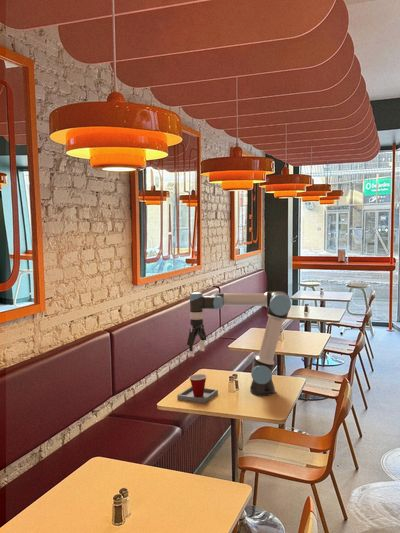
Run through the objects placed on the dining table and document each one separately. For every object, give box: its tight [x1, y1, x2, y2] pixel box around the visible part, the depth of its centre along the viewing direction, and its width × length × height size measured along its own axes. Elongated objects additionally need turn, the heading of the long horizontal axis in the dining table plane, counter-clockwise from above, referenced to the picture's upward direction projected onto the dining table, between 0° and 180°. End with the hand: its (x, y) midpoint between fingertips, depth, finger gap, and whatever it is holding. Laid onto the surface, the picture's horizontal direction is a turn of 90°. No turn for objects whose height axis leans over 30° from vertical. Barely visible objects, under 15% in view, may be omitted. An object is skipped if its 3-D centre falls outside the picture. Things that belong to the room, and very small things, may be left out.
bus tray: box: [177, 385, 219, 405], centre depth 297 cm, size 18×18×3 cm
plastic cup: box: [188, 373, 208, 397], centre depth 297 cm, size 11×11×12 cm
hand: (197, 353), depth 295 cm, fingers open, 13 cm apart
